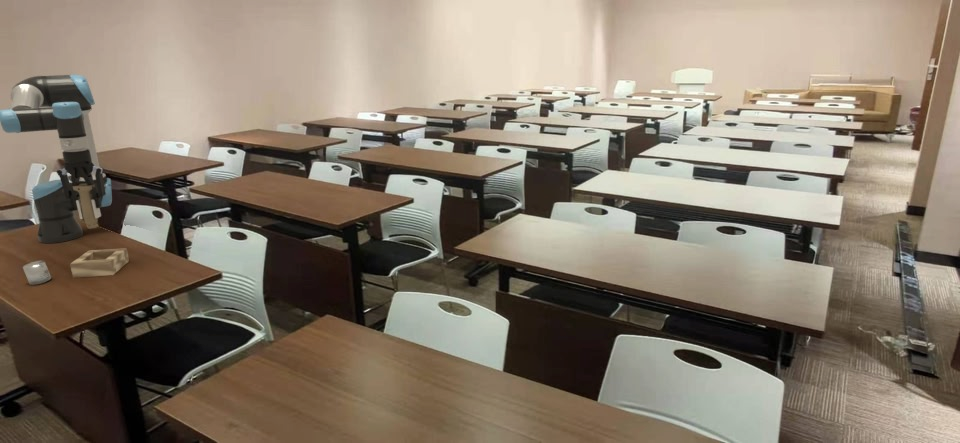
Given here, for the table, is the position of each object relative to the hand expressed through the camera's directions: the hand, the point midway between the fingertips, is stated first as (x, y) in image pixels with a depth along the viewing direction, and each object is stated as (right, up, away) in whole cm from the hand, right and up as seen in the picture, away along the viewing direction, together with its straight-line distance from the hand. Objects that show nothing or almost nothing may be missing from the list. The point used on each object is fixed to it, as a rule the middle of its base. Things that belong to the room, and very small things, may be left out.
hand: (90, 217), depth 194 cm
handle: (0, -4, +1) cm, 4 cm away
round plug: (-14, -21, -4) cm, 26 cm away
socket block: (0, -18, +6) cm, 19 cm away
